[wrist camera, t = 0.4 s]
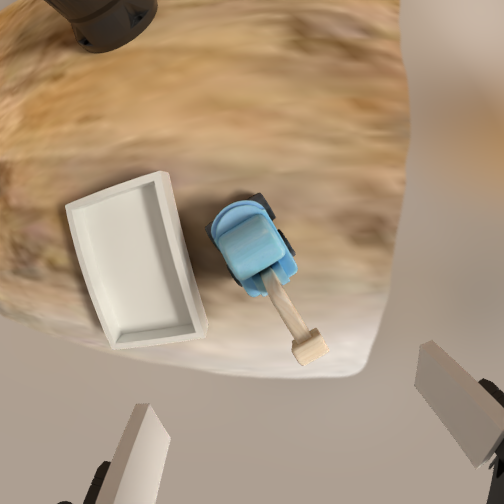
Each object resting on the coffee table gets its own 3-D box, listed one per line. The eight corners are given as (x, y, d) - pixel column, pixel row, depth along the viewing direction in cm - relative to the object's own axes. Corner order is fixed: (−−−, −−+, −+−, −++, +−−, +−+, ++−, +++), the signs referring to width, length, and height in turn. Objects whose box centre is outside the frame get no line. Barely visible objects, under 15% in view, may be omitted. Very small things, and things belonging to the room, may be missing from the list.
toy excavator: (263, 316, 41) (275, 391, 24) (203, 220, 37) (170, 242, 20) (314, 288, 40) (356, 348, 23) (257, 187, 37) (268, 183, 20)
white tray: (84, 202, 36) (64, 205, 31) (171, 173, 36) (160, 170, 30) (125, 333, 41) (112, 349, 35) (209, 319, 40) (205, 337, 35)
